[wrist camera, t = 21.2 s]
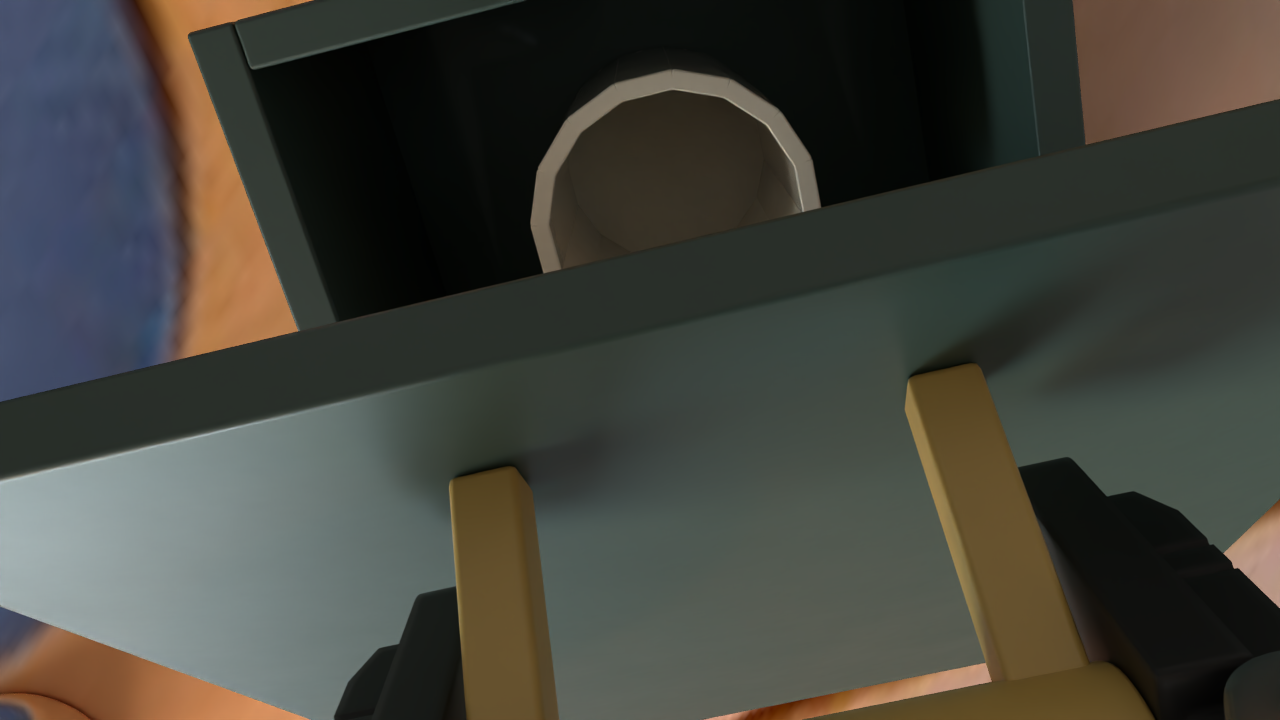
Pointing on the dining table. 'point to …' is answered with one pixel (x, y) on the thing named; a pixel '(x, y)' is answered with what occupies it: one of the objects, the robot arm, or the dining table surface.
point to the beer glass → (36, 708)
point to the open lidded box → (542, 92)
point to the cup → (664, 160)
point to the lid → (695, 454)
